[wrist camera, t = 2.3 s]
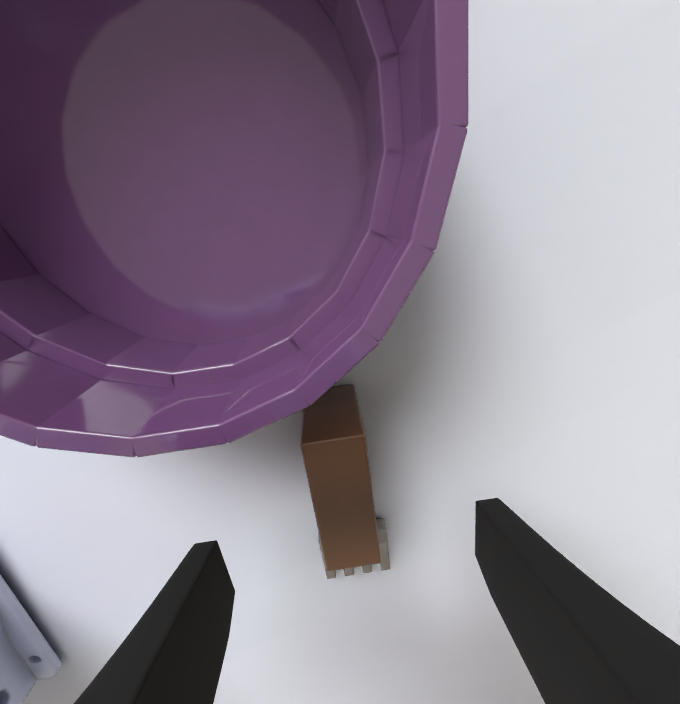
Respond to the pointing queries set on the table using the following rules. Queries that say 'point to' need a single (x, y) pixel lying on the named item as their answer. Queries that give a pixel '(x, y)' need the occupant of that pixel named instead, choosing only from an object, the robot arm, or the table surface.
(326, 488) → the fork with wooden handle
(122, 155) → the bowl
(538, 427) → the table surface
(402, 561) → the table surface
